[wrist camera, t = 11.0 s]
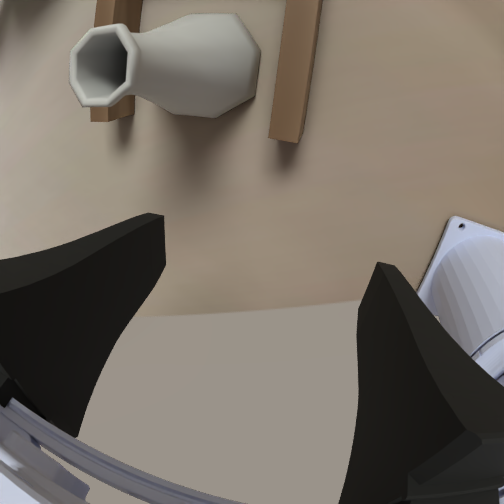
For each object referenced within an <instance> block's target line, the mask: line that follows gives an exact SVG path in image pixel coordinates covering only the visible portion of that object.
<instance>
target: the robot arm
mask: <svg viewBox="0 0 504 504" xmlns="http://www.w3.org/2000/svg"><path fill="white" fill-rule="evenodd" d="M461 223H463V226H462V227H461V228H459V225H460V224H461ZM165 266H166V253H165V230H164V216H163V215H158V214H153V213H146V214H142V215H139V216H136V217H133V218H130V219H128V220H125V221H123V222H120V223H118V224H115V225H113V226H110V227H108V228H105V229H103V230H100V231H98V232H95V233H93V234H90V235H87V236H85V237H82V238H80V239H77V240H75V241H72V242H69V243H66V244H63V245H60V246H57V247H53V248H50V249H47V250H43V251H40V252H35V253H31V254H27V255H23V256H18V257H14V258H8V259H2V260H0V504H90V503H87V502H86V501H85V497H86V495H87V493H88V491H89V489H90V488H89V486H88V485H87V484H85V483H84V482H82V481H81V480H79V479H78V478H77V477H75V476H74V475H72V474H71V473H70V472H69V471H67V470H66V469H65V468H64V467H63V466H62V465H61V464H60V463H58V462H57V461H55V460H54V459H52V458H51V457H50V456H48V455H47V454H45V453H44V452H43V451H41V447H40V445H41V446H42V447H44V448H45V449H47V450H48V451H50V452H52V453H53V454H55V455H56V456H58V457H59V458H61V459H63V460H64V461H66V462H67V463H69V464H71V465H73V466H74V467H76V468H78V469H79V470H81V471H83V472H85V473H87V474H88V475H90V476H92V477H94V478H96V479H98V480H100V481H102V482H104V483H106V484H108V485H110V486H112V487H114V488H116V489H118V490H120V491H122V492H124V493H127V494H129V495H131V496H134V497H136V498H138V499H141V500H143V501H146V502H148V503H150V504H246V503H241V502H237V501H233V500H228V499H224V498H221V497H217V496H213V495H209V494H206V493H203V492H200V491H196V490H193V489H190V488H187V487H184V486H181V485H178V484H175V483H172V482H169V481H166V480H164V479H161V478H159V477H156V476H153V475H151V474H148V473H146V472H143V471H141V470H139V469H136V468H134V467H132V466H129V465H127V464H125V463H123V462H120V461H118V460H116V459H114V458H112V457H110V456H108V455H106V454H104V453H101V452H100V451H98V450H96V449H94V448H92V447H90V446H88V445H86V444H85V443H83V442H81V441H79V440H77V439H75V438H76V437H78V434H79V431H80V427H81V424H82V421H83V418H84V415H85V411H86V408H87V405H88V403H89V400H90V398H91V395H92V393H93V390H94V387H95V385H96V382H97V380H98V378H99V376H100V374H101V371H102V369H103V367H104V365H105V363H106V361H107V359H108V357H109V355H110V353H111V351H112V349H113V347H114V345H115V343H116V341H117V340H118V338H119V337H120V335H121V333H122V332H123V330H124V329H125V327H126V326H127V324H128V323H129V321H130V320H131V319H132V318H133V316H134V315H135V313H136V312H137V311H138V309H139V308H140V306H141V305H142V304H143V302H144V301H145V299H146V298H147V297H148V295H149V294H150V292H151V291H152V290H153V288H154V287H155V285H156V283H157V281H158V279H159V278H160V276H161V274H162V272H163V270H164V268H165ZM434 315H435V316H439V319H440V323H441V324H440V323H439V322H438V320H437V319H436V318H435V317H434ZM357 357H358V385H359V396H358V397H359V398H358V410H357V419H356V427H355V433H354V440H353V445H352V451H351V456H350V461H349V465H348V470H347V474H346V479H345V483H344V486H343V490H342V493H341V497H340V500H339V504H504V232H501V231H498V230H496V229H493V228H490V227H487V226H484V225H482V224H479V223H476V222H473V221H470V220H467V219H464V218H461V217H458V216H453V217H451V218H450V219H449V221H448V223H447V226H446V228H445V231H444V233H443V236H442V238H441V240H440V243H439V245H438V248H437V250H436V252H435V255H434V257H433V259H432V261H431V264H430V266H429V268H428V270H427V272H426V274H425V276H424V279H423V281H422V283H421V285H420V287H419V289H418V291H417V293H416V292H415V291H414V289H413V288H412V286H411V285H410V284H409V283H408V281H407V280H406V279H405V277H404V276H403V275H402V273H401V272H400V271H399V270H398V269H397V268H396V267H395V266H394V265H390V264H386V263H382V262H377V264H376V267H375V269H374V272H373V274H372V277H371V279H370V282H369V284H368V287H367V289H366V292H365V294H364V297H363V299H362V301H361V304H360V306H359V308H358V320H357Z"/></svg>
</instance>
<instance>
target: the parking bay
mask: <svg viewBox="0 0 504 504" xmlns="http://www.w3.org/2000/svg"><path fill="white" fill-rule="evenodd" d="M142 1H143V0H97V5H96V13H95V22H94V28H96V27H101V26H107V25H112V24H124V25H126V26H127V28H128V30H129V31H130V32H131V33H139V26H140V17H141V9H142ZM321 8H322V0H287V2H286V10H285V17H284V25H283V32H282V40H281V47H280V55H279V62H278V70H277V77H276V85H275V92H274V99H273V107H272V114H271V122H270V129H269V137H268V138H271V139H277V140H282V141H288V142H293V143H298V141H299V140H300V138H301V136H302V134H303V129H304V123H305V117H306V111H307V104H308V98H309V92H310V85H311V79H312V72H313V65H314V59H315V52H316V45H317V38H318V30H319V23H320V16H321ZM134 102H135V95H125V96H124V97H123V98H122V99H120V100H119V101H118V102H117V103H116V104H115V105H113V106H111V107H90V110H91V122H109V121H112V120H116V119H119V118H122V117H126V116H129V115H132V114H134Z"/></svg>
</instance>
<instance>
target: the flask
mask: <svg viewBox="0 0 504 504" xmlns="http://www.w3.org/2000/svg"><path fill="white" fill-rule="evenodd" d="M260 53H261V50H260V48H259V47H258V45H257V44H256V42H255V41H254V39H253V37H252V36H251V34H250V33H249V31H248V30H247V28H246V27H245V25H244V24H243V22H242V21H241V19H240V18H239V16H238V15H237V14H232V13H195V14H189V15H186V16H184V17H182V18H179V19H177V20H175V21H173V22H171V23H168V24H166V25H163V26H160V27H158V28H156V29H153V30H151V31H148V32H145V33H131V32H130V31H129V30H128V28H127V26H126V25H124V24H112V25H107V26H101V27H96V28H91V29H90V30H89V31H88V32H87V33H86V34H85V35H84V36H83V37H82V38H81V39H80V41H79V42H78V43H77V44H76V45H75V46H74V47H73V48H72V50H71V51H70V63H69V84H70V86H71V87H72V89H73V91H74V93H75V95H76V97H77V98H78V100H79V102H80V104H81V106H82V107H111V106H113V105H115V104H116V103H117V102H118V101H119V100H120V99H122V98H123V97H124V96H125V95H137V96H140V97H142V98H144V99H146V100H148V101H151V102H153V103H155V104H157V105H159V106H160V107H162V108H164V109H165V110H167V111H168V112H170V113H172V114H176V115H188V116H198V117H207V118H217V117H219V116H220V115H222V114H224V113H225V112H227V111H229V110H231V109H232V108H234V107H236V106H238V105H239V104H241V103H243V102H245V101H247V100H248V99H250V98H252V97H254V96H255V91H256V84H257V76H258V68H259V61H260Z"/></svg>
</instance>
